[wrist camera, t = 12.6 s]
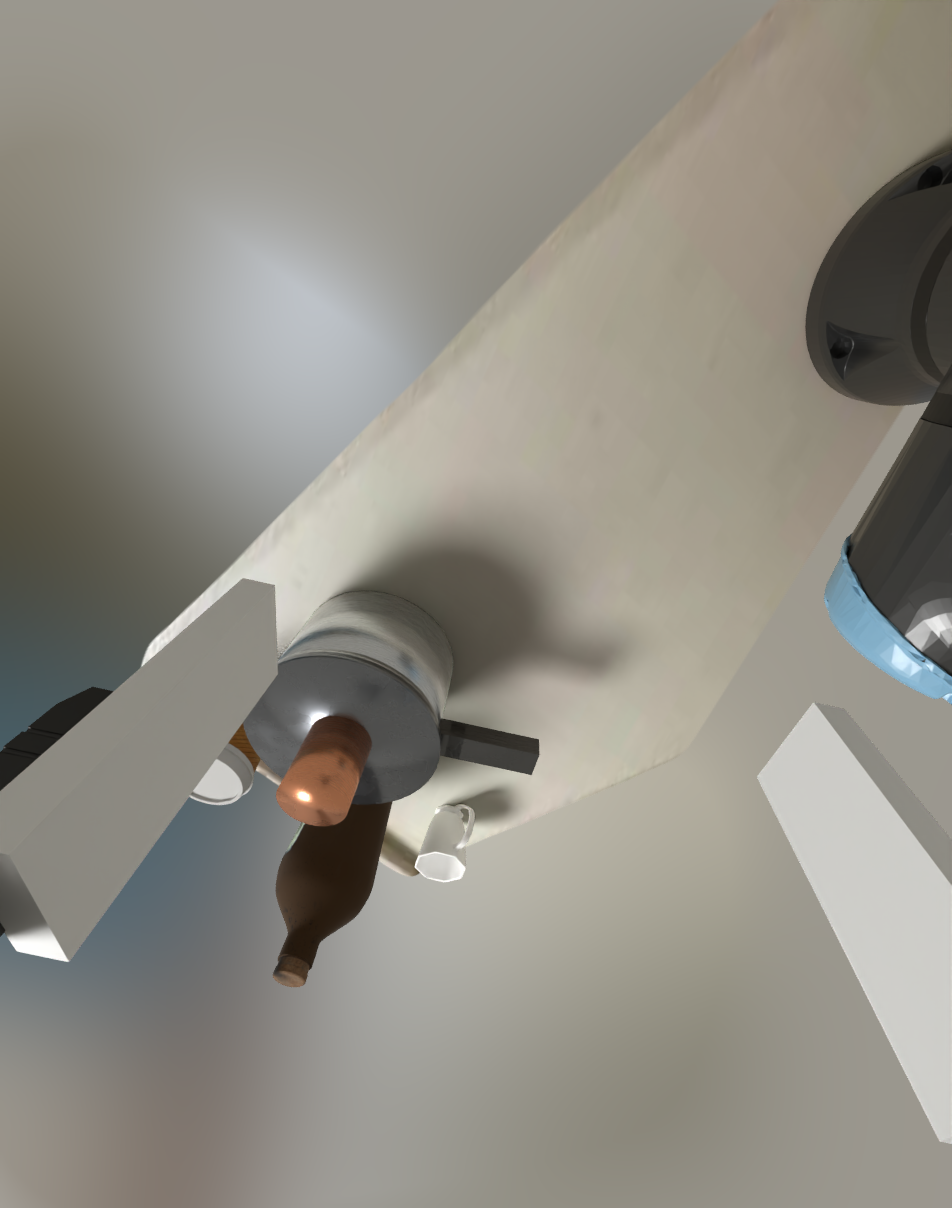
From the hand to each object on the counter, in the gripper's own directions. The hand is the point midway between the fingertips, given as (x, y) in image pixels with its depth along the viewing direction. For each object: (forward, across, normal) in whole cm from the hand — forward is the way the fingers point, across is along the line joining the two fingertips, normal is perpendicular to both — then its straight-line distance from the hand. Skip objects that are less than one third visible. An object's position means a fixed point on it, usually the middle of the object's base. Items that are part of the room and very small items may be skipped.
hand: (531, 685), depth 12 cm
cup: (+35, +2, -54) cm, 64 cm away
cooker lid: (+23, -11, -29) cm, 38 cm away
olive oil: (+35, -11, -49) cm, 61 cm away
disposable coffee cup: (+35, -26, -41) cm, 60 cm away
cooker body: (+35, -6, -29) cm, 45 cm away
